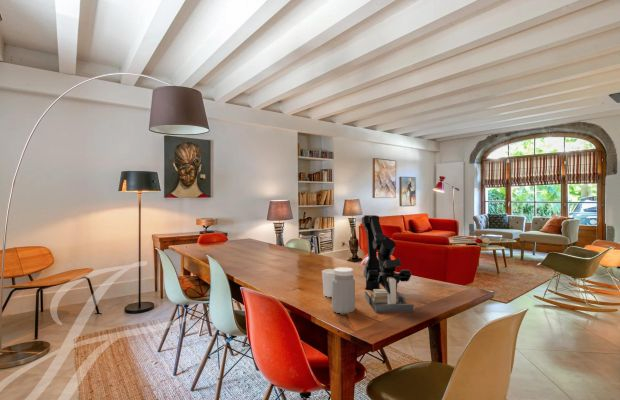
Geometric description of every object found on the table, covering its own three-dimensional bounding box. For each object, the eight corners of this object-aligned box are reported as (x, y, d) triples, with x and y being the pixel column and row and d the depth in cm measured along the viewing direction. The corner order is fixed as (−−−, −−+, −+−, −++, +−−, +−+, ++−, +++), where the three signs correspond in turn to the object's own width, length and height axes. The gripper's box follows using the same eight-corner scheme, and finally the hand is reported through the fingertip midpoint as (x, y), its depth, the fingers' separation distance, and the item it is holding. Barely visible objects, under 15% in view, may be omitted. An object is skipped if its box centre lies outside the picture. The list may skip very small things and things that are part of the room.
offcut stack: (370, 298, 155) (370, 289, 154) (393, 297, 155) (393, 288, 155) (374, 302, 148) (374, 293, 148) (398, 302, 148) (398, 293, 148)
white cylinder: (344, 293, 165) (344, 269, 165) (337, 299, 156) (337, 274, 156) (326, 291, 169) (326, 268, 169) (318, 296, 160) (318, 272, 160)
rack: (364, 299, 156) (364, 291, 156) (398, 298, 157) (398, 290, 157) (375, 315, 136) (375, 305, 136) (413, 314, 137) (413, 304, 137)
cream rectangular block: (387, 304, 142) (387, 277, 142) (392, 304, 142) (392, 277, 142) (390, 308, 138) (390, 280, 138) (395, 308, 138) (396, 280, 138)
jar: (358, 313, 137) (358, 271, 137) (336, 316, 134) (336, 272, 134) (349, 306, 146) (349, 266, 146) (328, 308, 144) (328, 267, 143)
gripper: (368, 252, 143) (374, 284, 132) (410, 251, 144) (419, 283, 133) (364, 265, 151) (369, 297, 140) (403, 265, 152) (412, 296, 141)
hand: (392, 293), depth 139 cm, fingers closed on cream rectangular block, 2 cm apart
